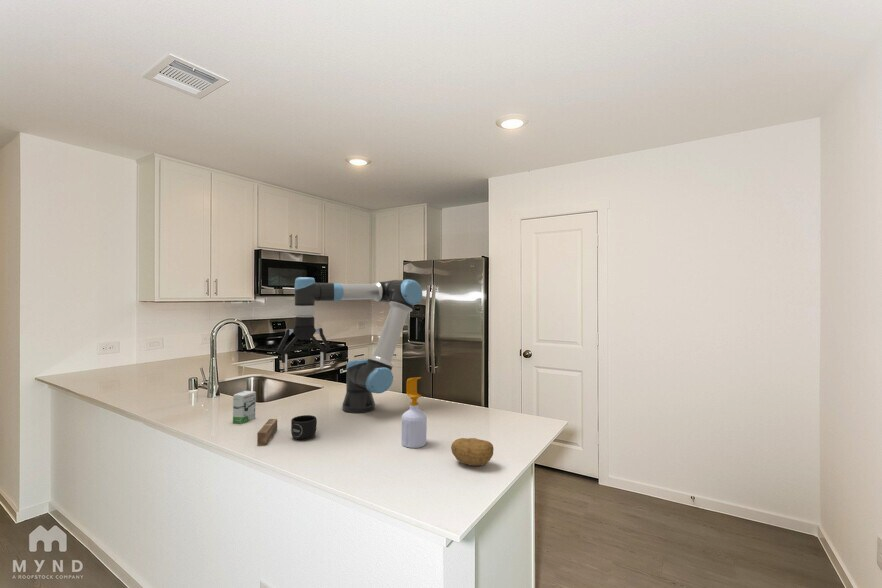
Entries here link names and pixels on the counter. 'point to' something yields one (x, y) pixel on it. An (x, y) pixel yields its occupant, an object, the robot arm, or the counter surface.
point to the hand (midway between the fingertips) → (304, 369)
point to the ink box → (244, 406)
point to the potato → (472, 451)
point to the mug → (303, 427)
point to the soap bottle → (413, 419)
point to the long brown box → (267, 432)
